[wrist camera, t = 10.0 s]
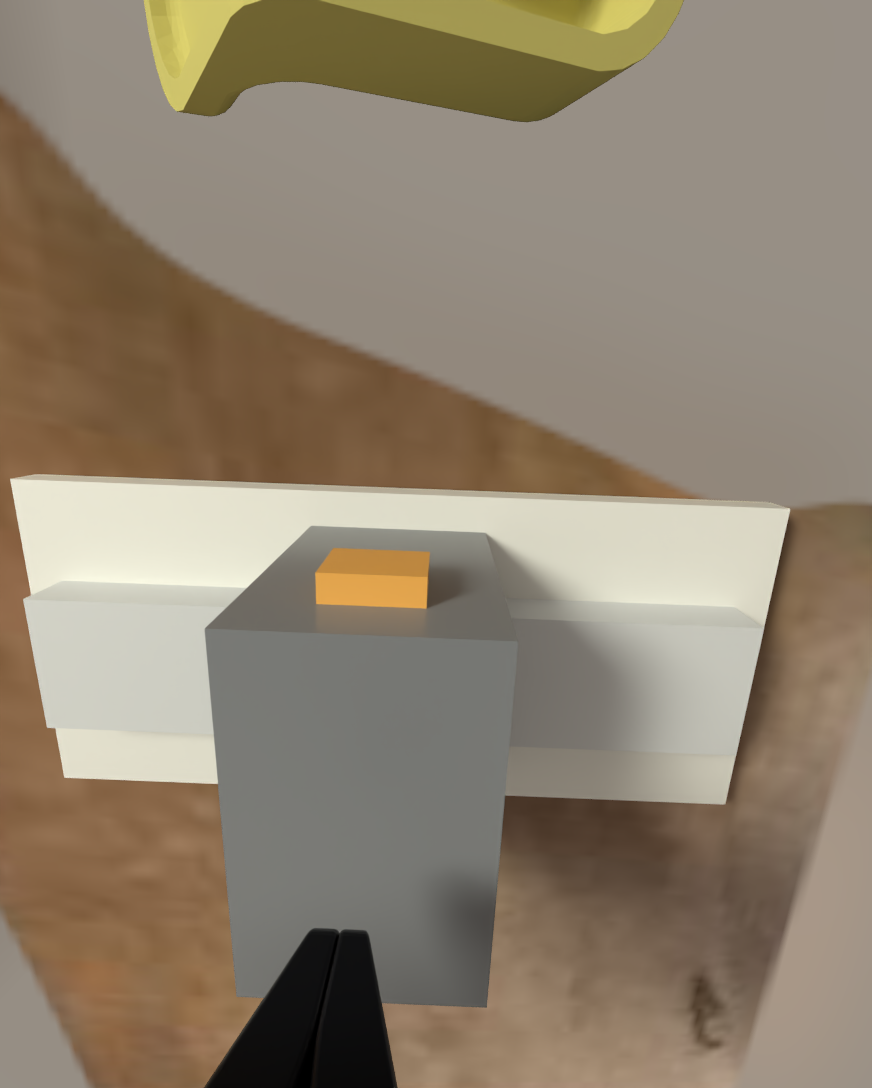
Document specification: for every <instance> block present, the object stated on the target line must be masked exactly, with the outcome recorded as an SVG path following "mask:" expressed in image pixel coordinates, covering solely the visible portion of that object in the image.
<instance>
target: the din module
mask: <svg viewBox="0 0 872 1088" xmlns="http://www.w3.org/2000/svg"><path fill="white" fill-rule="evenodd" d="M205 641H206V652H207V663H208V675H209V686H210V698H211V709H212V721H213V732H214V744H215V755H216V766H217V778H218V789H219V801H220V812H221V824H222V835H223V846H224V858H225V869H226V881H227V892H228V904H229V915H230V927H231V938H232V949H233V961H234V972H235V984H236V995H237V997H256V998H264V997H265V996H266V994H267V993H268V991H269V990H270V988H271V987H272V985H273V984H274V982H275V981H276V979H277V978H278V976H279V975H280V973H281V972H282V970H283V969H284V967H285V966H286V964H287V963H288V961H289V960H290V958H291V957H292V955H293V954H294V952H295V951H296V949H297V948H298V946H299V945H300V943H301V942H302V940H303V939H304V937H305V936H306V934H307V933H308V932H309V931H310V930H311V929H313V928H329V929H337V930H338V931H339V933H340V932H341V931H342V930H344V929H353V930H366V931H367V932H368V934H369V938H370V943H371V948H372V953H373V959H374V964H375V969H376V975H377V980H378V986H379V991H380V996H381V1002H382V1003H393V1004H416V1005H439V1006H462V1007H485V1008H487V997H488V986H489V974H490V963H491V951H492V940H493V928H494V917H495V905H496V894H497V882H498V871H499V859H500V848H501V836H502V825H503V813H504V802H505V790H506V779H507V767H508V756H509V744H510V733H511V721H512V710H513V698H514V687H515V675H516V664H517V652H518V638H517V635H516V632H515V629H514V625H513V622H512V619H511V615H510V612H509V609H508V606H507V602H506V599H505V596H504V592H503V589H502V586H501V583H500V579H499V576H498V573H497V569H496V566H495V563H494V560H493V556H492V553H491V550H490V547H489V543H488V540H487V537H486V533H482V532H457V531H432V530H407V529H382V528H357V527H332V526H310V527H309V528H308V529H307V530H306V531H305V532H304V533H303V534H302V535H301V536H300V537H299V538H298V539H297V540H296V541H295V542H294V543H293V544H292V545H291V546H290V547H289V548H288V549H287V550H286V551H284V552H283V553H282V554H281V555H280V556H279V557H278V558H277V559H276V560H275V561H274V562H273V563H272V564H271V565H270V566H269V567H268V568H267V569H266V570H265V571H264V572H263V573H262V574H261V575H260V576H259V577H258V578H256V579H255V580H254V581H253V582H252V583H251V584H250V585H249V586H248V587H247V588H246V589H245V590H244V591H243V592H242V593H241V594H240V595H239V596H238V597H237V598H236V599H235V600H234V601H233V602H232V603H231V604H230V605H229V606H227V607H226V608H225V609H224V610H223V611H222V612H221V613H220V614H219V615H218V616H217V617H216V618H215V619H214V620H213V621H212V622H211V623H210V624H209V625H208V626H207V627H206V628H205Z"/></svg>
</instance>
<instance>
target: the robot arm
mask: <svg viewBox="0 0 872 1088" xmlns="http://www.w3.org/2000/svg"><path fill="white" fill-rule="evenodd" d="M204 1088H397V1082H396V1077H395V1071H394V1066H393V1061H392V1055H391V1050H390V1045H389V1039H388V1034H387V1028H386V1023H385V1018H384V1012H383V1007H382V1002H381V996H380V991H379V986H378V980H377V975H376V969H375V964H374V959H373V953H372V948H371V943H370V938H369V934H368V932H367V931H366V930H353V929H344V930H342V931H341V932H340V933H339V931H338V930H337V929H329V928H313V929H311V930H310V931H309V932H308V933H307V934H306V936H305V937H304V939H303V940H302V942H301V943H300V945H299V946H298V948H297V949H296V951H295V952H294V954H293V955H292V957H291V958H290V960H289V961H288V963H287V964H286V966H285V967H284V969H283V970H282V972H281V973H280V975H279V976H278V978H277V979H276V981H275V982H274V984H273V985H272V987H271V988H270V990H269V991H268V993H267V994H266V996H265V997H264V999H263V1000H262V1002H261V1003H260V1005H259V1006H258V1008H257V1009H256V1011H255V1012H254V1014H253V1015H252V1017H251V1018H250V1020H249V1021H248V1023H247V1024H246V1026H245V1027H244V1029H243V1030H242V1032H241V1033H240V1035H239V1036H238V1038H237V1039H236V1041H235V1042H234V1044H233V1045H232V1047H231V1048H230V1050H229V1051H228V1053H227V1054H226V1056H225V1057H224V1059H223V1060H222V1062H221V1063H220V1065H219V1066H218V1068H217V1069H216V1071H215V1072H214V1074H213V1075H212V1076H211V1078H210V1079H209V1081H208V1082H207V1084H206V1085H205V1087H204Z"/></svg>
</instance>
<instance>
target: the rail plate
mask: <svg viewBox="0 0 872 1088" xmlns="http://www.w3.org/2000/svg"><path fill="white" fill-rule="evenodd" d="M10 480H11V486H12V491H13V497H14V502H15V508H16V513H17V519H18V524H19V530H20V535H21V541H22V546H23V552H24V557H25V563H26V568H27V574H28V579H29V585H30V590H31V596H29V597H27V598H25V599H23V601H24V606H25V612H26V617H27V622H28V628H29V633H30V638H31V644H32V649H33V655H34V660H35V665H36V671H37V676H38V681H39V687H40V692H41V697H42V703H43V708H44V714H45V719H46V724H47V728H56V734H57V739H58V745H59V750H60V756H61V761H62V767H63V772H64V778H87V779H112V780H136V781H161V782H185V783H210V784H218V778H217V766H216V755H215V744H214V732H213V721H212V709H211V698H210V686H209V675H208V663H207V652H206V641H205V628H206V627H207V626H208V625H209V624H210V623H211V622H212V621H213V620H214V619H215V618H216V617H217V616H218V615H219V614H220V613H221V612H222V611H223V610H224V609H225V608H226V607H227V606H229V605H230V604H231V603H232V602H233V601H234V600H235V599H236V598H237V597H238V596H239V595H240V594H241V593H242V592H243V591H244V590H245V589H246V588H247V587H248V586H249V585H250V584H251V583H252V582H253V581H254V580H255V579H256V578H258V577H259V576H260V575H261V574H262V573H263V572H264V571H265V570H266V569H267V568H268V567H269V566H270V565H271V564H272V563H273V562H274V561H275V560H276V559H277V558H278V557H279V556H280V555H281V554H282V553H283V552H284V551H286V550H287V549H288V548H289V547H290V546H291V545H292V544H293V543H294V542H295V541H296V540H297V539H298V538H299V537H300V536H301V535H302V534H303V533H304V532H305V531H306V530H307V529H308V528H309V527H310V526H332V527H357V528H382V529H407V530H432V531H457V532H482V533H486V537H487V540H488V543H489V547H490V550H491V553H492V556H493V560H494V563H495V566H496V569H497V573H498V576H499V579H500V583H501V586H502V589H503V592H504V596H505V599H506V602H507V606H508V609H509V612H510V615H511V619H512V622H513V625H514V629H515V632H516V635H517V638H518V652H517V664H516V675H515V687H514V698H513V710H512V721H511V733H510V744H509V756H508V767H507V779H506V790H505V796H528V797H553V798H577V799H602V800H626V801H651V802H675V803H700V804H724V805H725V803H726V798H727V794H728V789H729V785H730V780H731V775H732V771H733V766H734V762H735V757H736V754H737V749H738V745H739V740H740V736H741V731H742V727H743V722H744V717H745V713H746V708H747V704H748V699H749V695H750V690H751V686H752V681H753V677H754V672H755V668H756V663H757V659H758V654H759V649H760V645H761V640H762V636H763V631H764V626H765V621H766V617H767V612H768V608H769V603H770V599H771V594H772V590H773V585H774V580H775V576H776V571H777V567H778V562H779V558H780V553H781V549H782V544H783V540H784V535H785V531H786V526H787V522H788V517H789V512H790V509H789V508H786V507H783V506H780V505H777V504H773V503H770V502H752V501H727V500H701V499H675V498H649V497H622V496H596V495H570V494H544V493H518V492H491V491H465V490H439V489H413V488H387V487H360V486H334V485H308V484H282V483H256V482H229V481H203V480H177V479H151V478H125V477H99V476H72V475H46V474H35V475H29V476H24V477H19V478H13V479H10Z"/></svg>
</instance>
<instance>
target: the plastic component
mask: <svg viewBox="0 0 872 1088" xmlns="http://www.w3.org/2000/svg"><path fill="white" fill-rule="evenodd" d="M683 1H684V0H144V5H145V11H146V17H147V24H148V30H149V36H150V41H151V45H152V50H153V54H154V59H155V64H156V68H157V71H158V74H159V77H160V81H161V84H162V88H163V90H164V93H165V95H166V97H167V99H168V101H169V104H170V105H171V106H172V107H173V108H174V109H175V110H176V111H177V112H183V113H190V114H197V115H204V116H216V115H220V114H222V113H224V112H226V111H227V109H229V108H230V107H231V106H232V104H233V103H234V101H235V100H236V99H237V97H238V96H239V94H240V93H241V92H243V91H244V90H246V89H248V88H251V87H253V86H256V85H260V84H268V83H275V82H308V83H316V84H323V85H328V86H333V87H339V88H344V89H349V90H355V91H359V92H365V93H370V94H375V95H381V96H386V97H391V98H396V99H401V100H407V101H412V102H417V103H422V104H427V105H432V106H438V107H443V108H448V109H454V110H459V111H464V112H469V113H474V114H479V115H485V116H491V117H495V118H501V119H506V120H511V121H519V122H531V121H538V120H542V119H545V118H547V117H550V116H552V115H554V114H555V113H557V112H558V111H560V110H562V109H564V108H565V107H567V106H568V105H570V104H571V103H573V102H575V101H576V100H578V99H580V98H581V97H583V96H584V95H586V94H588V93H589V92H591V91H592V90H594V89H595V88H597V87H599V86H600V85H602V84H603V83H605V82H607V81H608V80H610V79H611V78H613V77H615V76H616V75H618V74H619V73H621V72H623V71H624V70H626V69H627V68H629V67H631V66H632V65H634V64H635V63H637V62H639V61H640V60H642V59H643V58H645V57H646V56H647V55H648V54H649V53H650V52H651V51H652V49H654V48H655V47H656V45H658V44H659V42H660V41H661V40H662V39H663V38H664V37H665V35H666V34H667V32H668V31H669V29H670V27H671V25H672V24H673V22H674V20H675V19H676V17H677V15H678V14H679V11H680V8H681V6H682V4H683Z"/></svg>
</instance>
